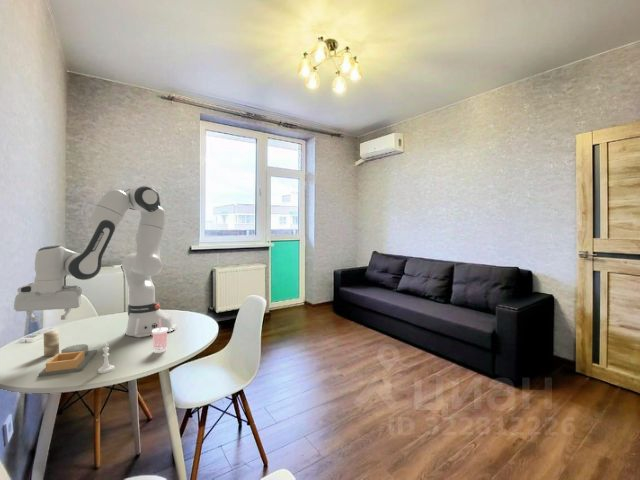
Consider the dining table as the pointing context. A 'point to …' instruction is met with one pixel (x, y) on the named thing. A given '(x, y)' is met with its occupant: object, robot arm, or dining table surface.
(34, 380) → the dining table surface
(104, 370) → the chess piece
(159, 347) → the beverage cup
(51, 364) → the base
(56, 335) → the wooden peg
